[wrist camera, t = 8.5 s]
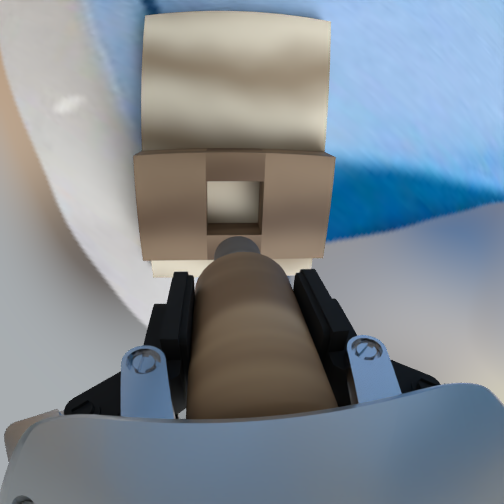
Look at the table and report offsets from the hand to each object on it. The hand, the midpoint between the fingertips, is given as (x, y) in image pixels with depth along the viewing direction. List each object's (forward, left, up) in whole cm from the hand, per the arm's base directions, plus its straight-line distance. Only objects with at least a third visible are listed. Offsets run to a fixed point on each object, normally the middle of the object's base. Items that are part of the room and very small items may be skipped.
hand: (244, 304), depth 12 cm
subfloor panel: (-4, 0, -14) cm, 15 cm away
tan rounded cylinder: (0, 0, -4) cm, 4 cm away
